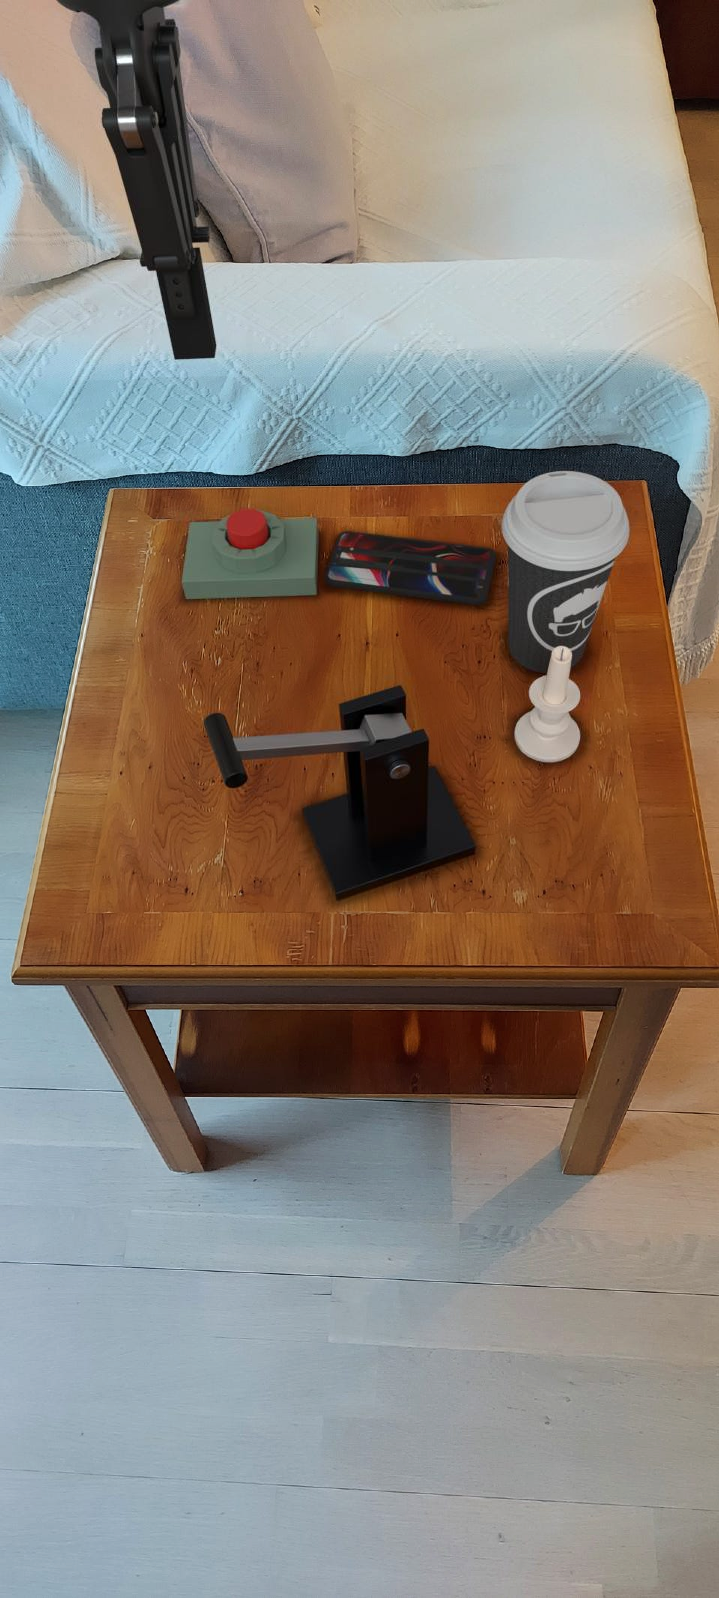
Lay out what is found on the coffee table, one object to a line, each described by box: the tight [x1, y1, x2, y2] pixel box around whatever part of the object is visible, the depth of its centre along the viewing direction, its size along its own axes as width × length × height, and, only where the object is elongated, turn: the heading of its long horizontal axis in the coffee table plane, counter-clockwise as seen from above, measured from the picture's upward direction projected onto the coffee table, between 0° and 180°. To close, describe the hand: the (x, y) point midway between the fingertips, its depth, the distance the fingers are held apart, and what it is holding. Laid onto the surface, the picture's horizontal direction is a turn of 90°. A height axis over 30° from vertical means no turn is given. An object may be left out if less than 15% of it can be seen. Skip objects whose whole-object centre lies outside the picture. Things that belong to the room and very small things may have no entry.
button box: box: [181, 509, 320, 600], centre depth 92 cm, size 12×8×4 cm, turn 90°
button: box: [226, 508, 268, 550], centre depth 90 cm, size 4×4×2 cm
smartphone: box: [324, 530, 497, 606], centre depth 92 cm, size 7×1×15 cm
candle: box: [513, 646, 581, 763], centre depth 76 cm, size 5×5×10 cm
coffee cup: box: [500, 470, 631, 674], centre depth 80 cm, size 10×10×15 cm
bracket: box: [301, 684, 477, 902], centre depth 70 cm, size 11×8×14 cm
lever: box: [203, 712, 412, 789], centre depth 64 cm, size 13×5×2 cm, turn 110°
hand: (195, 352), depth 67 cm, fingers closed
